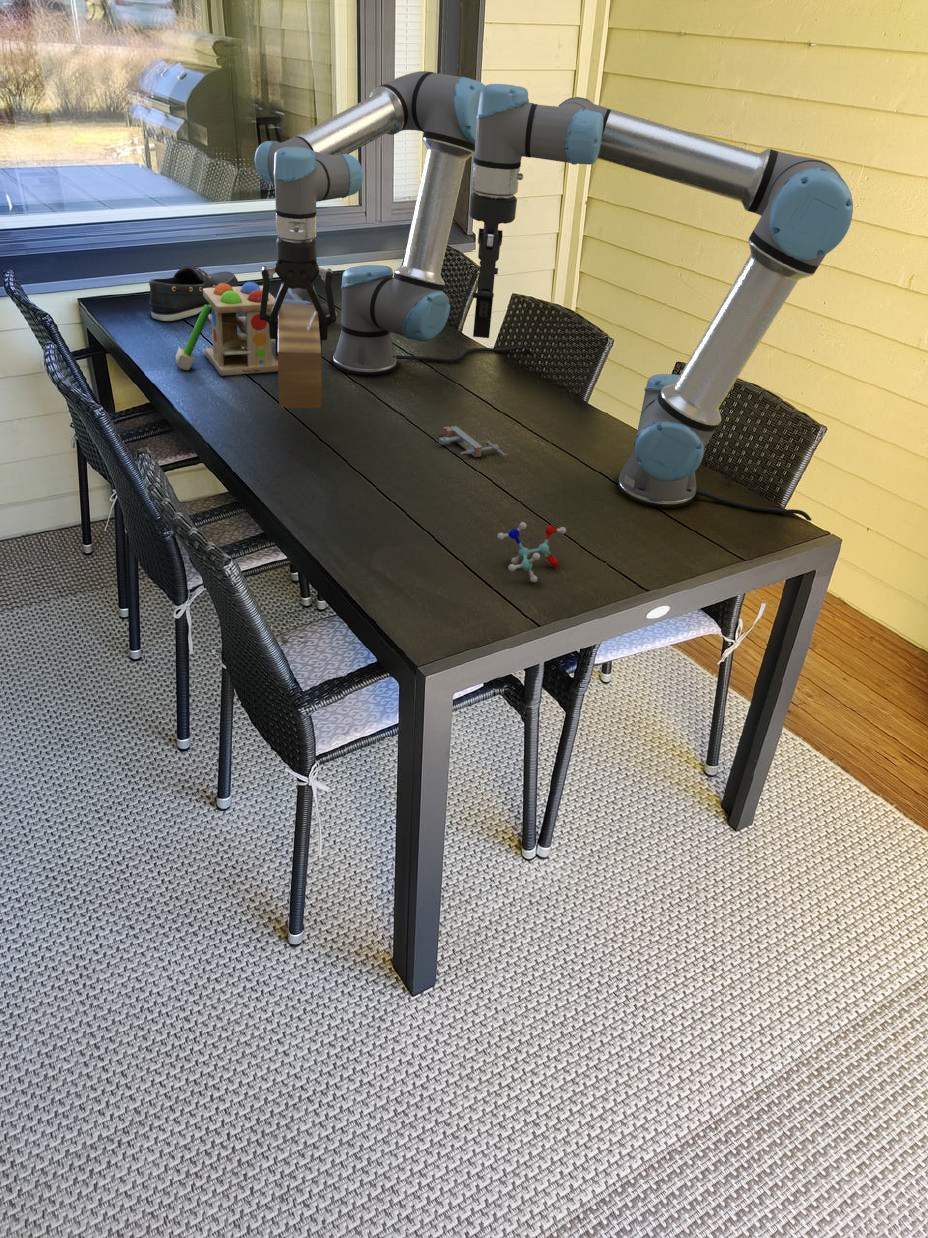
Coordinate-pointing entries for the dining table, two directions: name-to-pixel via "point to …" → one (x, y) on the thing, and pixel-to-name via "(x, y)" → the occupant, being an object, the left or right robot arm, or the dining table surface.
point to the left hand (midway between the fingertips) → (298, 354)
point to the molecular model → (525, 552)
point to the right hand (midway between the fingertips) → (482, 324)
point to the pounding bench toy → (234, 331)
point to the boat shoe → (184, 292)
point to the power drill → (301, 299)
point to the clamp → (466, 442)
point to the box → (299, 357)
